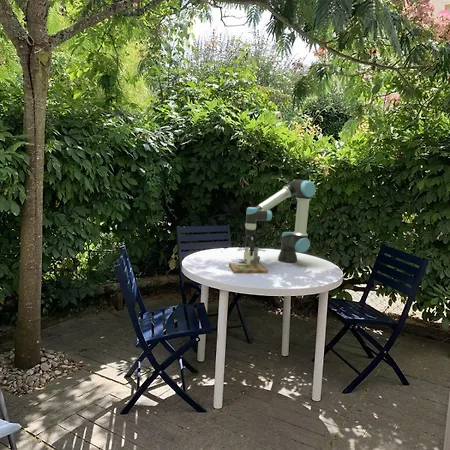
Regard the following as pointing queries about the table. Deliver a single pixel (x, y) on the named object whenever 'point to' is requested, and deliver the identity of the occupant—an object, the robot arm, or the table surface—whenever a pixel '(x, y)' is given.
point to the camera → (256, 257)
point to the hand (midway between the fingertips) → (248, 257)
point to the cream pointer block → (246, 256)
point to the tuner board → (248, 268)
